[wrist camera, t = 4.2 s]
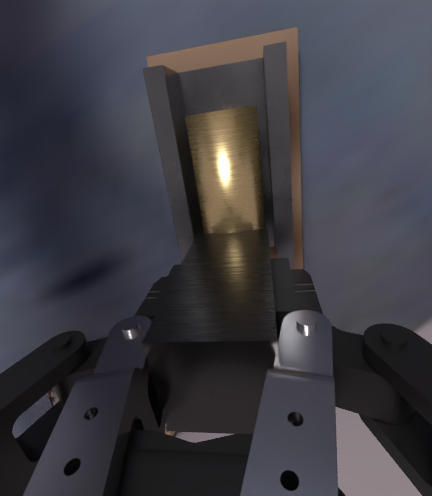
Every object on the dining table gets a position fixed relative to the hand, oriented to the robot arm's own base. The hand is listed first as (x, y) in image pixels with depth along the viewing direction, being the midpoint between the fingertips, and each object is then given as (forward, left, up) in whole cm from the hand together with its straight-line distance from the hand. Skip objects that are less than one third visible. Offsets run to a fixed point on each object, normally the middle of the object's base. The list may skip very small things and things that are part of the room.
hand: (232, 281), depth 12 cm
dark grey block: (-2, 0, -4) cm, 5 cm away
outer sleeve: (-4, 0, -5) cm, 7 cm away
